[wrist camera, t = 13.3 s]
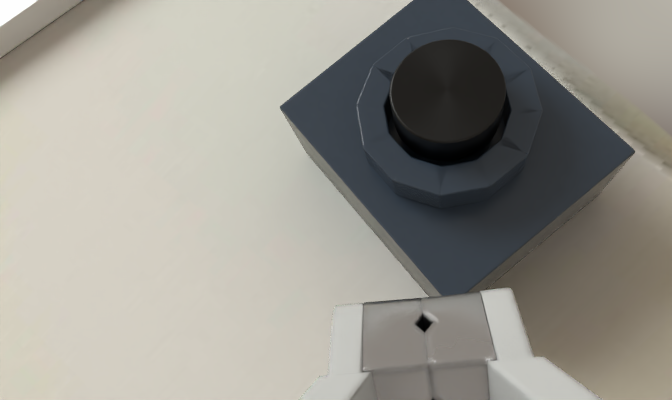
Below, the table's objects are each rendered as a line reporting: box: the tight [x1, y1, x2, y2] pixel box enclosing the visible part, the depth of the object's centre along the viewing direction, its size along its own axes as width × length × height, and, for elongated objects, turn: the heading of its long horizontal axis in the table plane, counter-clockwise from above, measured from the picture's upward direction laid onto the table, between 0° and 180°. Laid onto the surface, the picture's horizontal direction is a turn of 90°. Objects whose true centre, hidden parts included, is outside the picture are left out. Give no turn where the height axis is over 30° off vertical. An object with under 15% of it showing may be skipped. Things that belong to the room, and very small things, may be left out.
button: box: [389, 39, 506, 161], centre depth 24 cm, size 4×4×2 cm
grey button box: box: [280, 0, 635, 297], centre depth 28 cm, size 12×10×8 cm
